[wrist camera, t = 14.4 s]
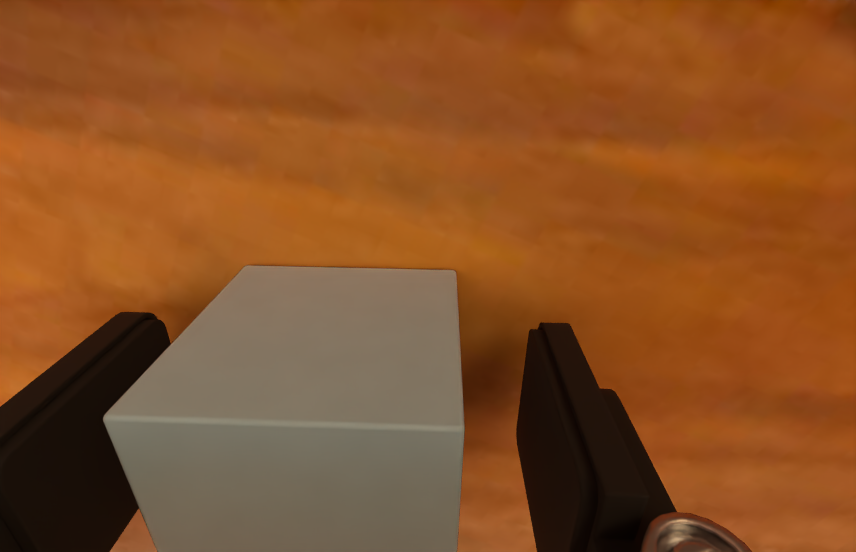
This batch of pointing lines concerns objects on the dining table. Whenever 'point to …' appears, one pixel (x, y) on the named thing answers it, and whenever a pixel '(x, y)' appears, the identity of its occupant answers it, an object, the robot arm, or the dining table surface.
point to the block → (303, 417)
